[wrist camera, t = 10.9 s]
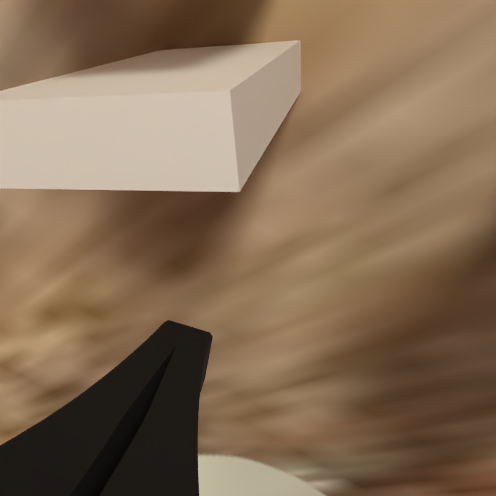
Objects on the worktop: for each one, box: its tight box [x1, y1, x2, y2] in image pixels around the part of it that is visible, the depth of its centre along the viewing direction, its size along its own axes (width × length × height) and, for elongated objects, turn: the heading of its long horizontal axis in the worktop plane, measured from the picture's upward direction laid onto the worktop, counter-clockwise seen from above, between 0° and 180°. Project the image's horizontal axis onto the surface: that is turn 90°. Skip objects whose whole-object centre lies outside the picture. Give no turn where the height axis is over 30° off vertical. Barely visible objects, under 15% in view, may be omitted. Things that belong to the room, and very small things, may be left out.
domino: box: [0, 40, 301, 192], centre depth 11 cm, size 2×5×9 cm, turn 94°
